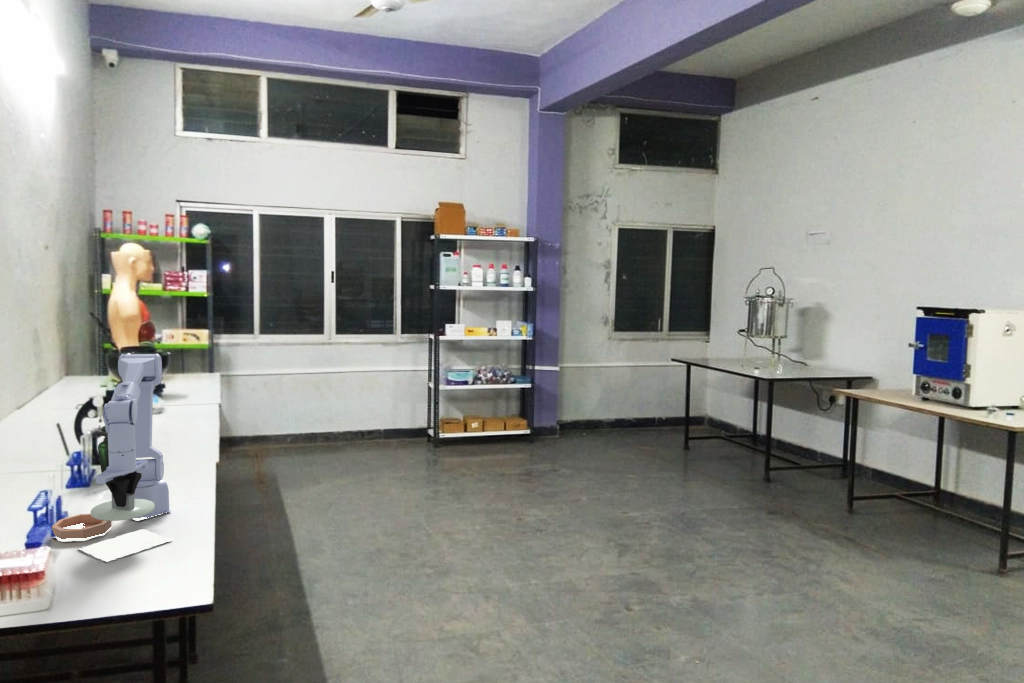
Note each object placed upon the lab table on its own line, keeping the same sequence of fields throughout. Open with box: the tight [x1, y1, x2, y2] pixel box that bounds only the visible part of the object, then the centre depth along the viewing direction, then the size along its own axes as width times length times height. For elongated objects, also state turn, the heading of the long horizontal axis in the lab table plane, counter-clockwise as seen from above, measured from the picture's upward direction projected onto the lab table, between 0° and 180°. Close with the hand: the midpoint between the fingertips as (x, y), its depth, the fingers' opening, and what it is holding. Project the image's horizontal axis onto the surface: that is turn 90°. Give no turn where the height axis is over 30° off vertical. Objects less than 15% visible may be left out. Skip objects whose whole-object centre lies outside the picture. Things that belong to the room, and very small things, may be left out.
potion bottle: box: [97, 425, 109, 474], centre depth 229 cm, size 8×8×18 cm
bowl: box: [51, 513, 113, 539], centre depth 180 cm, size 12×12×3 cm
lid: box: [90, 493, 155, 522], centre depth 172 cm, size 14×14×4 cm
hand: (124, 504), depth 172 cm, fingers closed on lid, 2 cm apart
